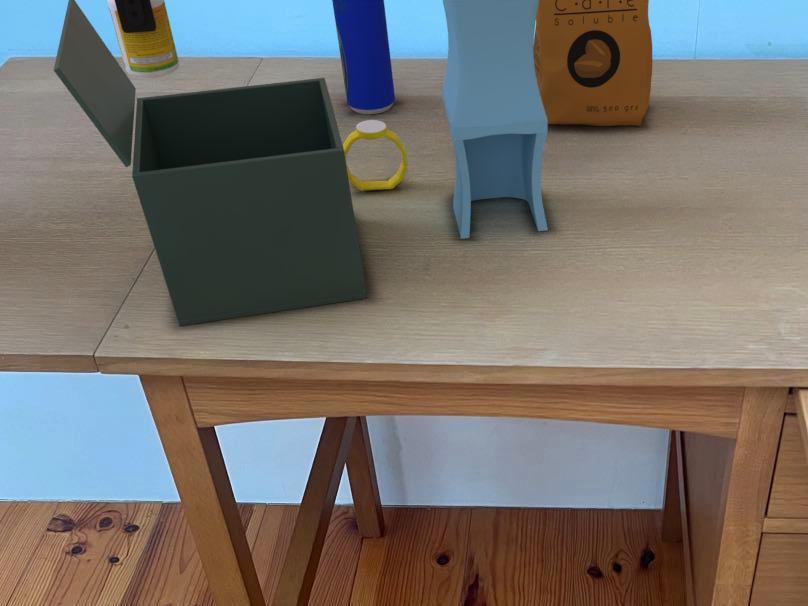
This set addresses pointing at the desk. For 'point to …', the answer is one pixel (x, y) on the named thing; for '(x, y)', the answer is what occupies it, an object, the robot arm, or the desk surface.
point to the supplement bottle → (147, 45)
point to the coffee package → (593, 61)
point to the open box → (247, 199)
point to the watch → (371, 132)
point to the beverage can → (365, 54)
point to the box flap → (96, 81)
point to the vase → (494, 104)
